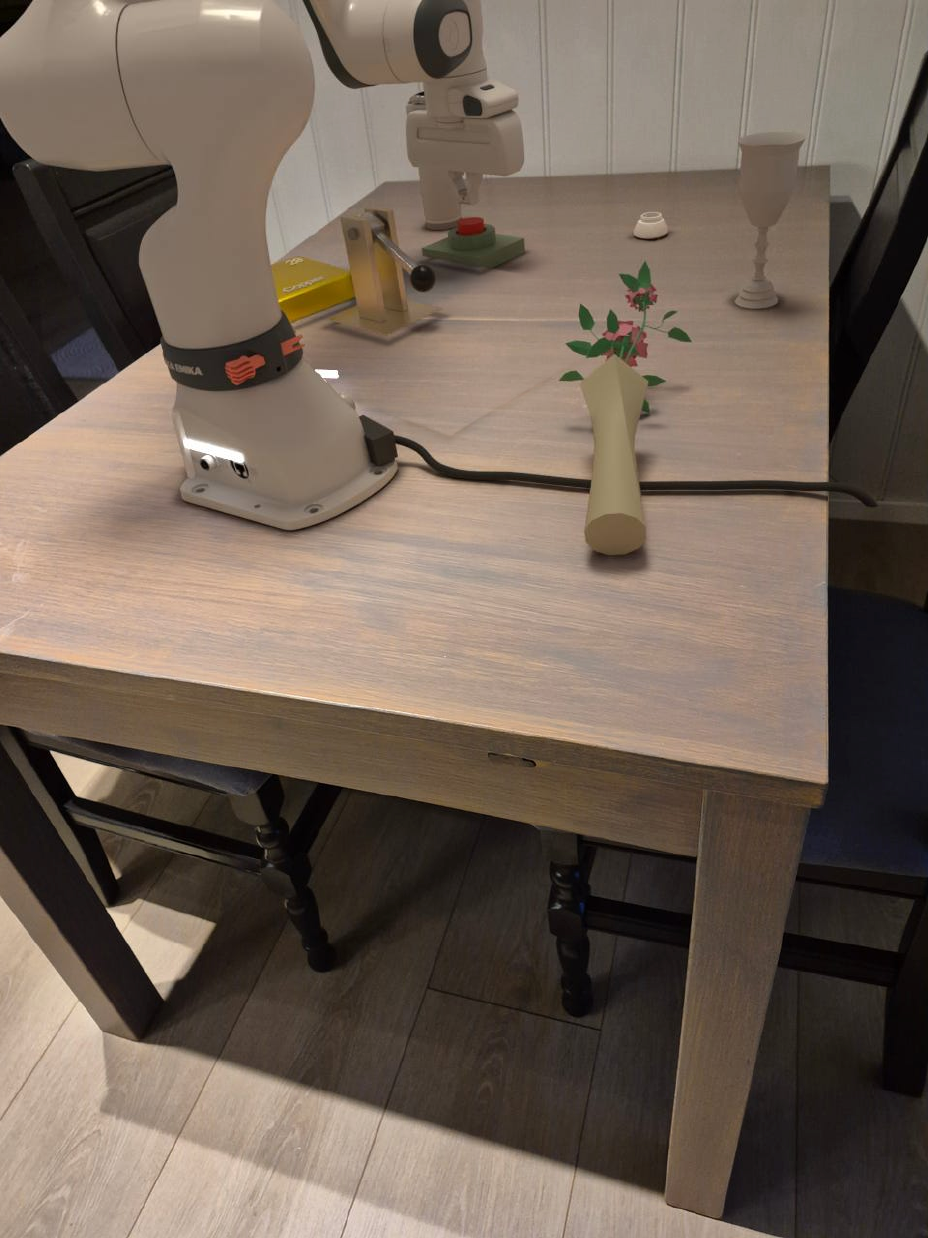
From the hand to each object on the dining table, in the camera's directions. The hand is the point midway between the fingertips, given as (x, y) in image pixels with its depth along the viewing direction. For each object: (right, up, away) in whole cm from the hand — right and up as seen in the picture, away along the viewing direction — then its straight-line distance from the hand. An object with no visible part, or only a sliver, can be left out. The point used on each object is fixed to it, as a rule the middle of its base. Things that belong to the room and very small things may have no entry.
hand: (468, 203), depth 130 cm
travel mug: (-4, +6, +21) cm, 22 cm away
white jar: (+28, -3, +4) cm, 28 cm away
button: (0, -3, +3) cm, 4 cm away
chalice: (+35, -22, -21) cm, 47 cm away
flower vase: (+14, -46, -46) cm, 67 cm away
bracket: (-11, -22, -12) cm, 27 cm away
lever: (-9, -17, -19) cm, 27 cm away
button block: (+1, -6, +5) cm, 8 cm away
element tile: (-25, -17, -4) cm, 31 cm away
